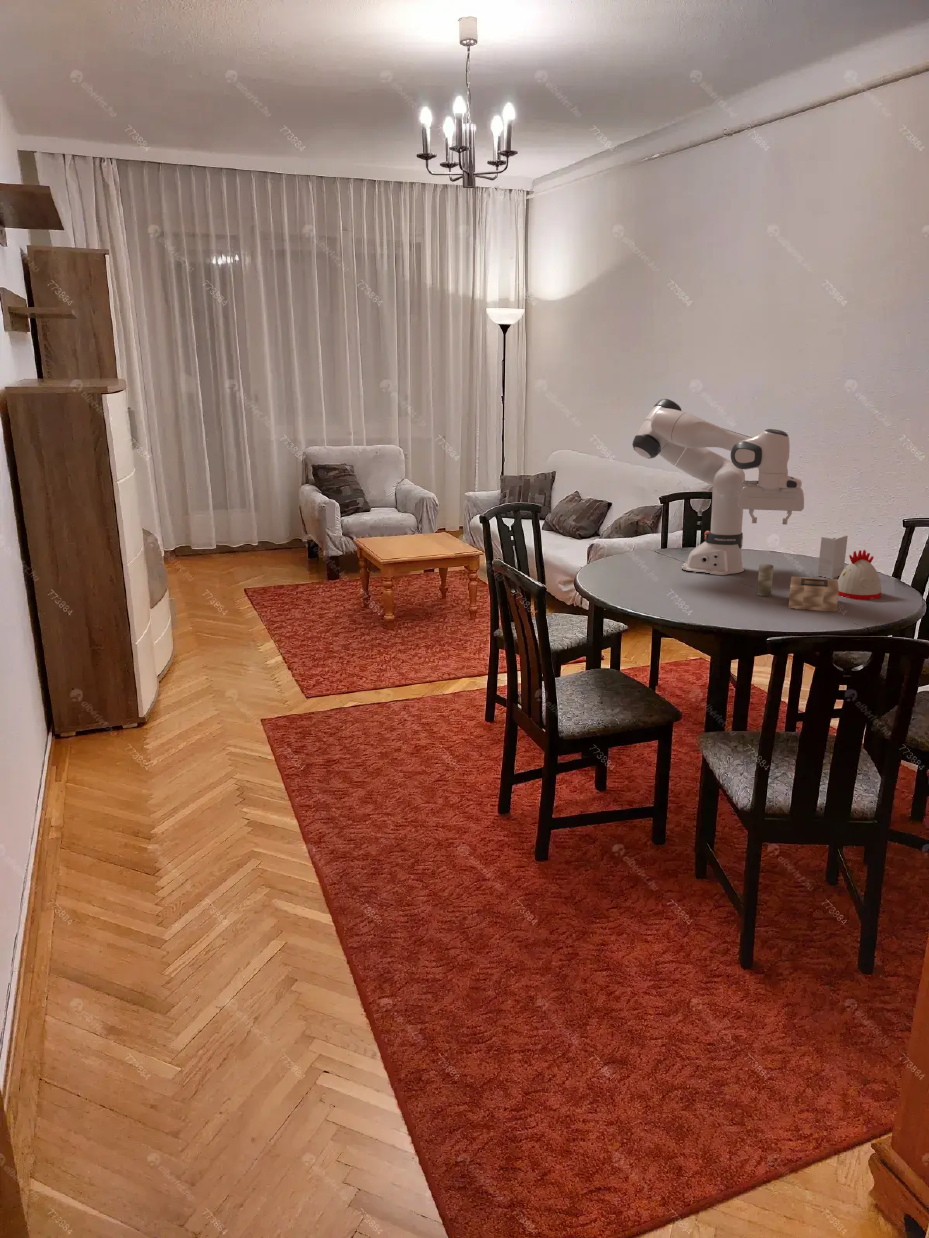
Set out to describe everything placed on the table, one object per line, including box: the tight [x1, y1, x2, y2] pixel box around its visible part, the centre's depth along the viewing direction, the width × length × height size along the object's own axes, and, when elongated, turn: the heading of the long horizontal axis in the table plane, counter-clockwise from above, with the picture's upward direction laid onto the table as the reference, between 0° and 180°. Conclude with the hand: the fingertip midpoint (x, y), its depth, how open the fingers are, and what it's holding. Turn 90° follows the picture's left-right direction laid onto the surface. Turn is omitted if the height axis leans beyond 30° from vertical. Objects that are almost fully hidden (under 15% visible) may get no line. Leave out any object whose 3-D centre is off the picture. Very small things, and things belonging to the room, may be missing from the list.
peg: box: [756, 563, 774, 597], centre depth 288 cm, size 4×4×10 cm
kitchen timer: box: [838, 549, 882, 601], centre depth 285 cm, size 14×14×15 cm
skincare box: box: [817, 532, 848, 579], centre depth 309 cm, size 8×6×15 cm
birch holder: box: [787, 576, 839, 613], centre depth 276 cm, size 14×14×7 cm
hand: (769, 523), depth 282 cm, fingers open, 8 cm apart
